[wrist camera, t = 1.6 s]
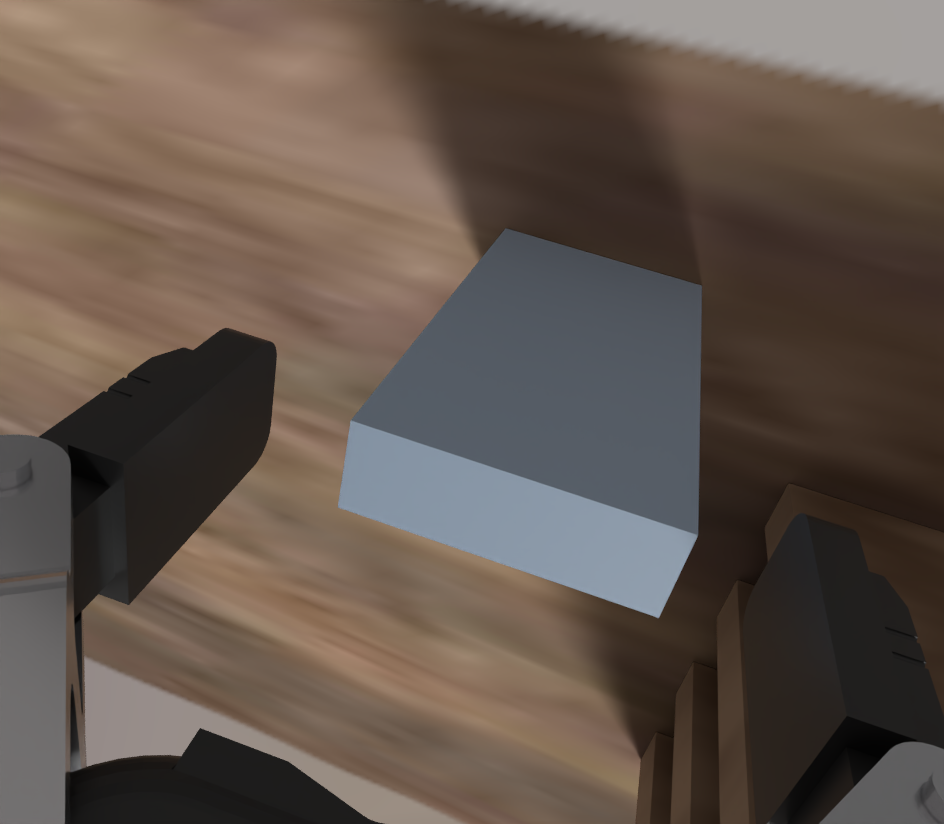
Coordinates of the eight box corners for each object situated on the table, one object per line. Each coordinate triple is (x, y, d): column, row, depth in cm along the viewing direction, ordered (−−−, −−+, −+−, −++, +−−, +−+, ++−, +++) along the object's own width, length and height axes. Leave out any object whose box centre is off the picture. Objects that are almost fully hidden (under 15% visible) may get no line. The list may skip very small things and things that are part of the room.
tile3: (910, 638, 22) (1037, 1047, 14) (884, 674, 23) (987, 1083, 14) (737, 579, 23) (755, 938, 14) (716, 617, 23) (722, 977, 15)
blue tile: (701, 285, 19) (698, 534, 10) (679, 343, 20) (658, 617, 11) (505, 228, 19) (351, 420, 11) (491, 286, 20) (338, 506, 12)
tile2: (980, 544, 20) (1176, 953, 12) (948, 588, 21) (1108, 998, 13) (788, 483, 21) (843, 830, 12) (764, 527, 22) (800, 882, 13)
